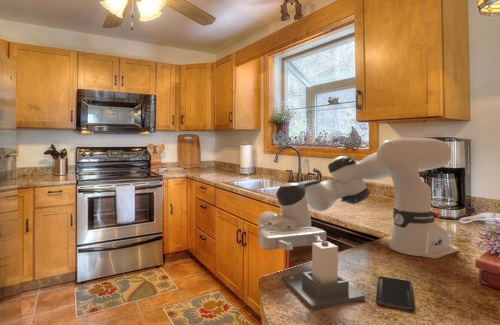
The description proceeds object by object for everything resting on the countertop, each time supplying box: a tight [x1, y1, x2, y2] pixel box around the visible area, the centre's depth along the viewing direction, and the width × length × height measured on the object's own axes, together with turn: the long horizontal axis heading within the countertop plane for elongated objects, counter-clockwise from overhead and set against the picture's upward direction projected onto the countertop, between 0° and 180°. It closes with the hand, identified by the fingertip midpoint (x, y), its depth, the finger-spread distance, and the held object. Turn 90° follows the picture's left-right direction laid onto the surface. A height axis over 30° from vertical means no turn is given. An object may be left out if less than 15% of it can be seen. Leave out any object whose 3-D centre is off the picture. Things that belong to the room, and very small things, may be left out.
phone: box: [375, 276, 415, 313], centre depth 72 cm, size 8×1×15 cm
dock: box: [281, 271, 366, 311], centre depth 75 cm, size 14×16×4 cm
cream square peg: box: [311, 240, 339, 284], centre depth 73 cm, size 4×4×12 cm
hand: (305, 245), depth 81 cm, fingers open, 8 cm apart
